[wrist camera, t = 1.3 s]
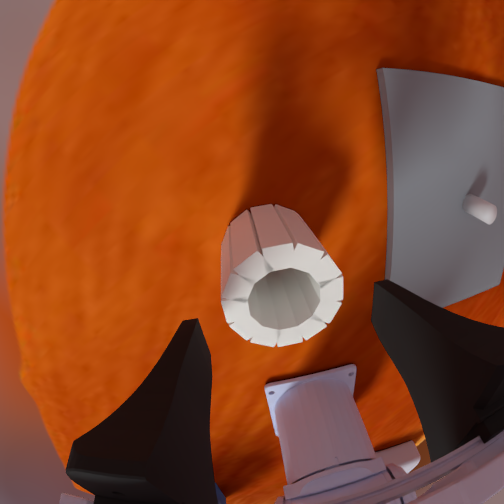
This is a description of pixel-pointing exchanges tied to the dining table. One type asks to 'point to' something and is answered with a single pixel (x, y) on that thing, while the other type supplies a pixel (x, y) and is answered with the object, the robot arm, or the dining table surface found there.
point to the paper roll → (277, 278)
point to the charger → (401, 455)
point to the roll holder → (443, 183)
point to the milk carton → (220, 495)
